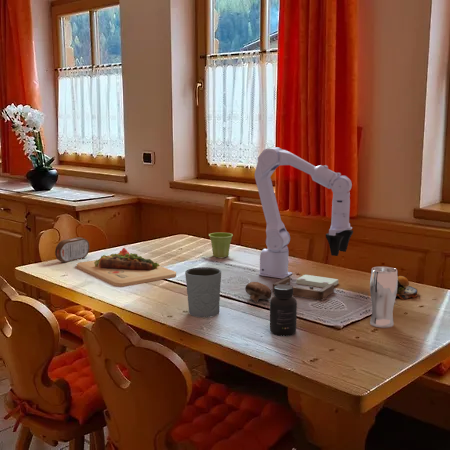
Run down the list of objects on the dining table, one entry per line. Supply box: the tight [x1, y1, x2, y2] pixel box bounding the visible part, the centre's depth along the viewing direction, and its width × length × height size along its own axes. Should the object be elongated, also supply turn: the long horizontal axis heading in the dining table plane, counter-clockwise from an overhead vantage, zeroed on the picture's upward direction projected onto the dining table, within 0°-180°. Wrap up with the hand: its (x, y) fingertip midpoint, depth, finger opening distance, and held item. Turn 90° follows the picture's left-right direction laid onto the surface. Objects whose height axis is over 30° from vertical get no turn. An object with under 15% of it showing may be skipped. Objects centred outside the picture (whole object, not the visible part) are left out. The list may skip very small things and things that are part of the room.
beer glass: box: [369, 266, 398, 329], centre depth 160 cm, size 7×7×15 cm
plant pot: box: [208, 232, 234, 259], centre depth 240 cm, size 9×9×9 cm
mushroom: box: [244, 281, 272, 303], centre depth 182 cm, size 8×8×6 cm
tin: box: [54, 236, 90, 263], centre depth 233 cm, size 15×3×8 cm, turn 144°
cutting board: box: [76, 247, 177, 287], centre depth 216 cm, size 35×23×8 cm
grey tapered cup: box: [185, 266, 222, 318], centre depth 170 cm, size 10×10×12 cm
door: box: [295, 274, 339, 289], centre depth 201 cm, size 12×7×2 cm, turn 59°
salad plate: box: [396, 273, 418, 300], centre depth 189 cm, size 12×12×8 cm
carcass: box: [272, 276, 335, 301], centre depth 191 cm, size 16×10×3 cm, turn 59°
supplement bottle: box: [269, 284, 298, 337], centre depth 154 cm, size 7×7×12 cm
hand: (338, 253), depth 203 cm, fingers open, 7 cm apart
